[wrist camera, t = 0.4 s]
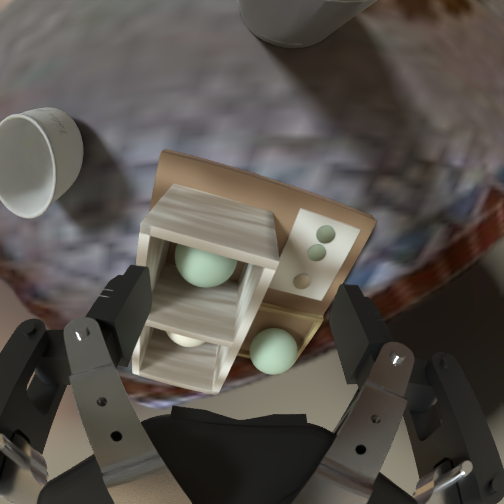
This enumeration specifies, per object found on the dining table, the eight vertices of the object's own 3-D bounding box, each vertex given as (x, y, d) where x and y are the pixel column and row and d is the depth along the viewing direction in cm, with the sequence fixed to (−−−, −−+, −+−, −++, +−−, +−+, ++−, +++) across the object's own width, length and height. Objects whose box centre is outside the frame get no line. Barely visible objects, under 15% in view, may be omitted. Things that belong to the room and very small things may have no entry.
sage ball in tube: (188, 207, 27) (173, 235, 22) (246, 224, 28) (244, 255, 23) (178, 256, 30) (163, 290, 25) (230, 271, 31) (225, 307, 26)
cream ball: (173, 279, 32) (160, 314, 27) (222, 293, 33) (217, 329, 28) (167, 314, 35) (156, 349, 30) (211, 326, 36) (206, 362, 31)
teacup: (102, 107, 23) (57, 116, 16) (92, 200, 28) (54, 232, 22) (19, 102, 21) (-26, 113, 14) (15, 181, 26) (-24, 205, 20)
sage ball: (258, 313, 34) (258, 350, 29) (302, 323, 35) (308, 359, 30) (244, 343, 37) (243, 378, 32) (284, 351, 38) (287, 385, 33)
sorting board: (165, 149, 26) (120, 178, 17) (371, 215, 29) (414, 268, 20) (140, 322, 38) (118, 379, 29) (288, 357, 41) (294, 416, 32)
